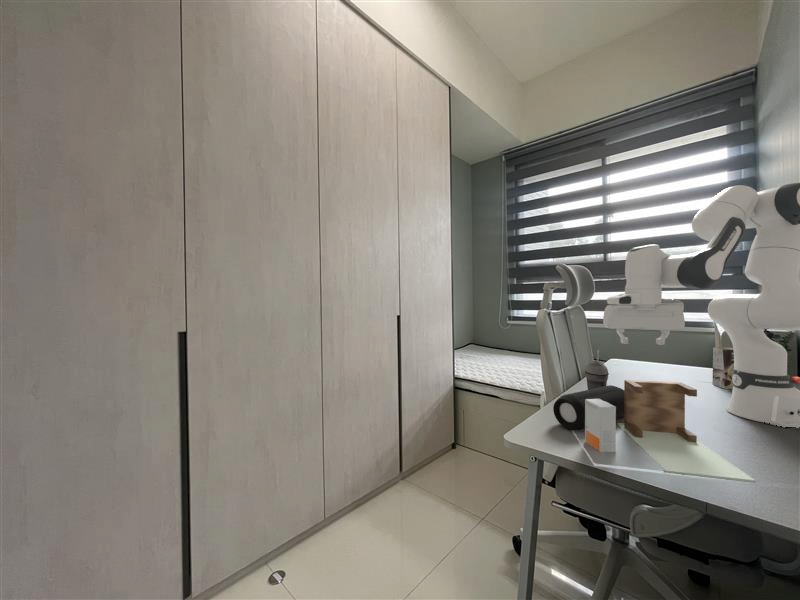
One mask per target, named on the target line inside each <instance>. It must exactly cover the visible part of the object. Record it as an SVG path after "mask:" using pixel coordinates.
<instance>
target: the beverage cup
mask: <svg viewBox="0 0 800 600" xmlns="http://www.w3.org/2000/svg"><path fill="white" fill-rule="evenodd" d="M596 353H597V354H596V360H595V361H591V362H589V363H587V365H586V366H585V369H584V370H585V371H584V373H585V378H586V387H587V390H590V389H594V388H599V387H603V386H608V379H609V374H610V373H609V369H608V367H607V366H606V365H605V364H604V363H603V362H601V361H599V359H600V358H599V357H600V350H599V349H597V352H596Z"/></svg>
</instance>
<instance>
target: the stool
mask: <svg viewBox="0 0 800 600" xmlns="http://www.w3.org/2000/svg"><path fill="white" fill-rule="evenodd" d="M623 388H624V389H623V390H624V416H623V417H624V418H623V420H624V421H623V424H624V427H625V428H626V429H627V430H628V431H629V432H630V433H631V434H632V435H633V436H634V437H639V438H643V431H652V432H664V433H676V434H678V435H680V436H681V437H682V438H684V439H685V440H687V441H688V442H695V443H697V440H698V439H697V435H696V434H695V433H693V432H692V431H690V430H689V429H687V428H686V426H685V425H686V421H685V419H686V415H685V413H686V411H685V410H686V396H687V397H697V396H698V389H697V388H694V387H692V386H689V384H688V385H687V384H685V383H683V382H676V381H675V382H674V381H654V380H634V379H631V380H630V379H624V384H623Z"/></svg>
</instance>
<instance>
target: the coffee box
mask: <svg viewBox="0 0 800 600" xmlns="http://www.w3.org/2000/svg"><path fill="white" fill-rule="evenodd" d="M712 351H713V352H712V385H713V386H715V387H719V388H722V389H724V390H733V383H732V369H733V368H734V350H733V347H723V346H722V347H720V346H719V347H718V346H717V347H713V348H712Z"/></svg>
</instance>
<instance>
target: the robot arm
mask: <svg viewBox="0 0 800 600" xmlns="http://www.w3.org/2000/svg"><path fill="white" fill-rule="evenodd" d="M691 228H692V231H693V233H694V234H695V235H696V236H697V237H699V238H700V239H701V240H704V241H707V242H708V243H707V245H706V247H705V248H704V249H702V250H700V251H696V252H693V253H689V254H680V255H679V254H678V255H671V254H667V253H665V252H664V251H662V249H661V247H660V245H659V244H647V245H642V246H637V247H632V248H631V249H629V251H628V252H627V254H626V259H625V265H624V266H625V268H624V277H625V279H626V280H625V281H626V284H625V287H624V292H623V293H620V294H616V295H612V296H610V297H609V296H608V297H607V299H606V304H608V305H606V307H605V308H604V311H603V316H602V317H603V318H602V320H603V321H602V324H603V326H604V327H605V328H607V329H613V330H614V329H616V330H615V331H616V333H617V335H618V336H619V338H620V343H621V344H623V345H624V344H625V345H626V344H629V337H627V336H626V337H625V335H624V334H623V333H625V330H654V331H655V330H656V331H657V330H660V333H661V334H660V336H659V337H658V338H657V337H656V338H655V344H656V345H659V346H664V345H665V344H666V340H667V338H668V336H670V331H682V330H683V329H684V328H685V326H686V322H685V314H684V310H685V308H684V307H685V304H684V302H683V301H681V300H679V299H678V298H662V296H663V295H662V292H663V291H662V289H663V288H664V289H667V288H668V289H670V288H671V289H676V288H677V289H678V288H679V289H682V288H683V289H685V288H689V289H700V290H704V289H709V288H711V287H713V286H715V285H716V284H717V283H718V282H719V281H720V280H721V279H722V277H723V275H724V273H725V272H724V271H725V269H726V266H727V263H728V262H729V260H730V259H731V257H732V256H733V254H734V252H735V251H736V250H737V248H738V246H739V245H740V243H741V241H742V240H743V238H744V236H745V233H746V229H748V230H749V229H755V230H756V235H755V236H754V239H753V240H752V243H751V247H750V249H749V253H748V257H747V261H746V265H745V267H744V275H745V277H746V278H747V280H749V281H751V282H753V283H755V284H757V285H760V286H762V287H761V288H762V289H761V292H760V293H731V294H725V295H718V296H715V297H714V298H713V299H712V300H710V302H709V303H708V307H707V313H708V315H709V318H710V319H711V320H712V321H713V322H714V323H716V324H717V325H719V326H720V327H721V328H722V329H723V330H724V331H725V332H726V334H727V335H728V337H729V339H730V341H731V344H732V348H733V350H734V368H733V369H732V383H733V389H732V392H731V395H730V396H731V397H730V399H729V403H728V405H727V408H726V410H727V412H729V413H730V414H732V415H734V416H738V417H740V418H743V419H747V420H750V421H756V422H760V423H764V422H765V424H769V423H770V424H769V425H773V426H776V425H777V426H776V427H780V426H782V427H781V428H785V427H796V428H795V429H800V428H799V427H800V390H799V389H798V388H796V387H795V384H798V385H800V377H799V376H792V375H789V374H788V351H787V350H786V348H785V347H784V346H783V345H782V344H780V343H779V342H776V341H773V340H771V339H770V338H769V337H768V336H767V335H766V333H765V332H764V330H775V331H776V330H777V331H778V330H779V331H789V332H790V331H800V182H793V183H792V182H791V183H787V184H783V185H781V186H777V187H773V188H768V189H764V190H760V191H757V190H755V189H754V188H753V187H751V186H747V185H740V184H739V185H733V186H729V187H727V188H725V189H723V190H721V192H719V193H717V195H715V196H714V197H712V198H711V199H710V200H709V201H708V202H707V203H706V204H704V206H703V207H702V208H701V209H700V210H699V211H698V212H697V213H695V215H694V217H693V219H692V221H691Z"/></svg>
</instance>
